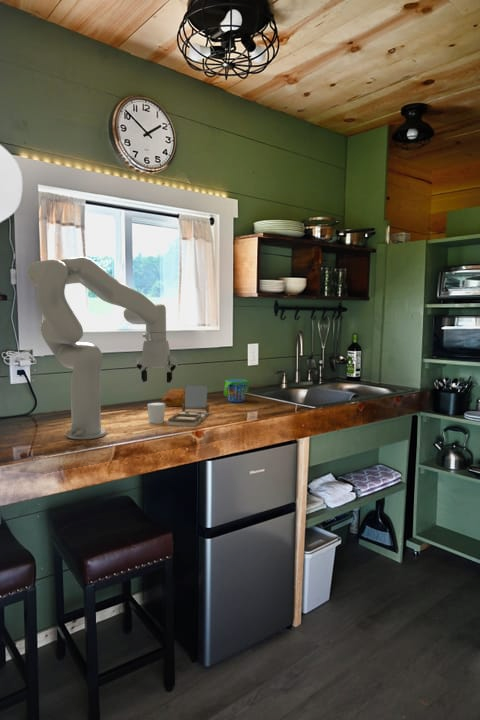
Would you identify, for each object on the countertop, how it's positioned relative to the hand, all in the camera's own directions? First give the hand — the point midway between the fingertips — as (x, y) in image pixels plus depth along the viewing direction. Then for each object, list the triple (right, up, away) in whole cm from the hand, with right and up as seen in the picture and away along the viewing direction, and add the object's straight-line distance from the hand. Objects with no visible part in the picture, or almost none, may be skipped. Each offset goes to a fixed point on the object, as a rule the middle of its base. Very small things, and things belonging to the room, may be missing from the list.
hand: (156, 381), depth 189 cm
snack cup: (+30, -12, +46) cm, 56 cm away
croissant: (+3, -12, +38) cm, 40 cm away
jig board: (+12, -15, +6) cm, 20 cm away
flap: (+13, -7, +15) cm, 21 cm away
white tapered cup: (0, -16, +1) cm, 16 cm away
